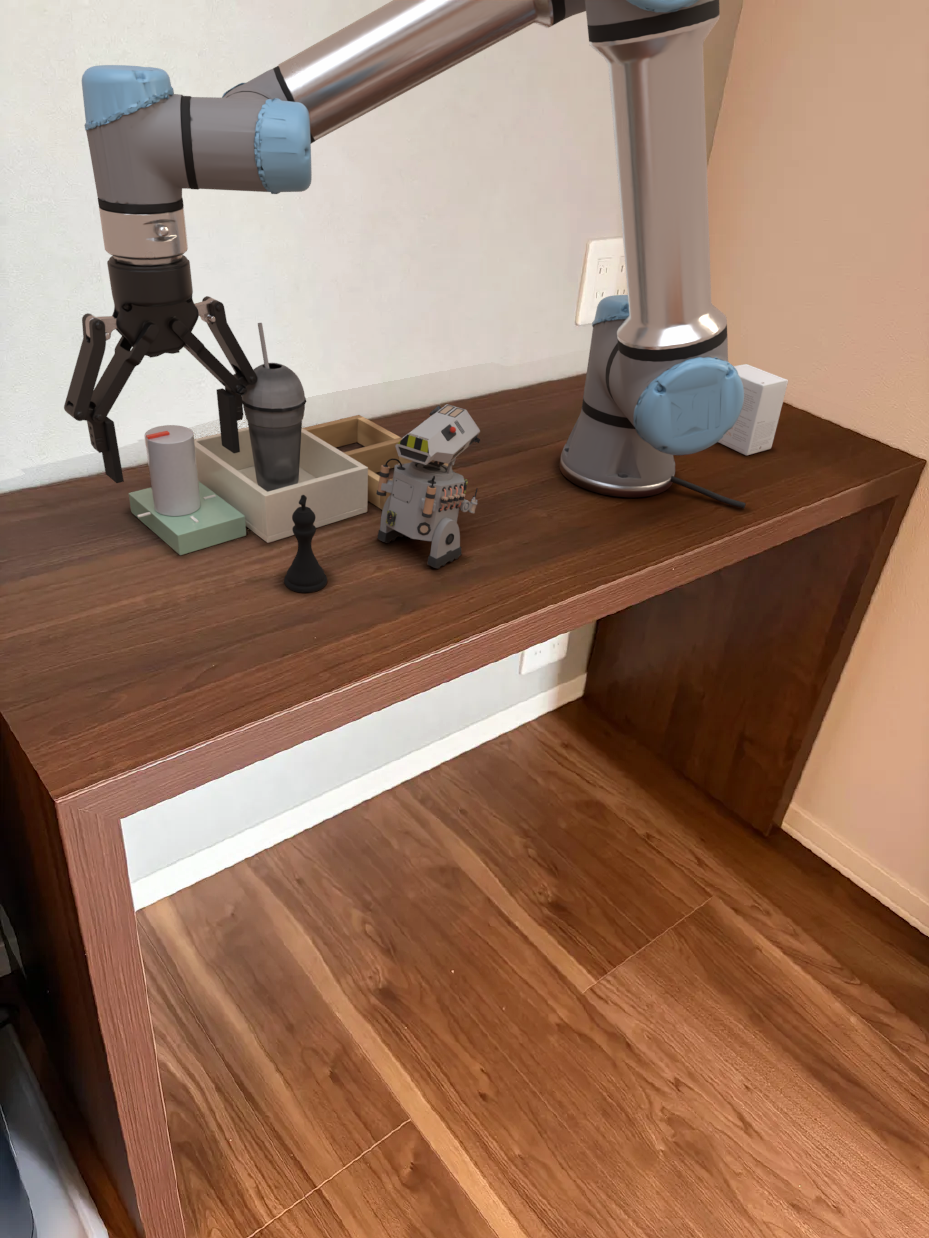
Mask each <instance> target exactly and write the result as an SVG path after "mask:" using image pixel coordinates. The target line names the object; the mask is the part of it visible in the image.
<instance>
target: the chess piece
mask: <svg viewBox="0 0 929 1238" xmlns="http://www.w3.org/2000/svg"><path fill="white" fill-rule="evenodd" d="M306 500H307V497H306V496H305V495H301V499H300V500H299V504H300V505H301V507H298V508H297V509H296V510H295V511H294V513H293V515H292V520H293V522H294V524H295V525H294V526H293V529H292V530H293V533H294V535H293V536H294V537H295V539H296V541H297V551H296V555H295V556H294V558H293V560H292V562H291V565H290V566H289V567H288V569H287V571H286V574H285V576H284V579H283V583H284V586H285V587H286V588H287V589H289V590H291V591H292V592H295V593H302V594H307V593H308V594H309V593H315V592H318V591H321V590H322V589H324V588H325V587H326V585H327V584H328V576H327V574H326V573H325V570H324V568H323V567H322V566H321V564H320V563H319V560H317V557H316V556H315V554H314V552H313V546H312V541H313V538H314V536H315V534H316V531H317V528H316V527H315V526H314V525H313V524H314V521H315V518H316V517H315V514H314V512H313V511H312V510H311V509H310V508H309V507H305V506H306Z"/></svg>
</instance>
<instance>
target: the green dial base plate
mask: <svg viewBox="0 0 929 1238" xmlns="http://www.w3.org/2000/svg"><path fill="white" fill-rule="evenodd" d="M198 482H199V481H198ZM199 491H200V501H201V506H200V508H199V509H198V510H197V511H195V512H193V513H191V514H188V515H183V516H167V515H163V514H160V513H158V512H157V511H156V510H155V509H154V505H153V497H152V489H151V487H147V488H142V489H138V490H135V491H132V492H128V501H129V506H130V513H131V514H132V515H134V516H135V517H136V518H137V519H138V520H139V521H140V522H141V523H143V524H144V526H146V527H147V528H149V529H150V530H151V531H152V532H153V533H154V534H155V535H156V536H157V537H159V538H160V539H161V540H162V541H163V542H164V543H165V544H166V545H168V546H169V547H170V548H171V549H172V550H173V551H174V552H176V553H177V555H179V556H183V555H186V554H190V553H193V552H197V551H199V550H203V549H207V548H209V547H213V546H216V545H219V544H224V543H226V542H230V541H233V540H236V539H239V538H243V537H245V536H247V527H246V524H245V516H244V515H243V514H242V513H240V512H239V511H238V510H236V509H235V508H234V507H232V506H231V505H230V504H228V503H227V502H226V501H225V500H223V499H222V498H221V497H219V496H218V495H217V494H215V493H214V492H213V491H211V490H210V489H209V488H207V487H206V486H205V485H203V484H202V483H201V482H199Z"/></svg>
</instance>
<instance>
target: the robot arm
mask: <svg viewBox="0 0 929 1238" xmlns="http://www.w3.org/2000/svg"><path fill="white" fill-rule="evenodd" d="M584 12H585V14H586V24H587V35H588V43H589V47H590V48H592V49H593V50H594V51H595V52H597V54H598V55H600V56H601V57H602V59H604V60H605V62H606V63H607V70H608V71H607V73H608V81H609V93H610V105H611V117H612V129H613V141H614V152H615V163H616V164H615V165H616V176H617V187H618V197H619V198H618V199H619V210H620V222H621V232H622V244H623V245H622V246H623V255H624V268H625V279H626V292H627V294H616V295H608V296H605V297H604V298H602V299H601V300H600V301H599V302H598V304H597V306H596V311H595V316H594V319H593V320H592V323H591V327H592V333H591V340H590V346H589V354H588V361H587V367H586V374H585V381H584V389H583V396H582V397H583V398H582V404H581V410H580V413H579V416H578V417H577V419H576V422H575V424H574V425H573V427H572V429H571V432H570V434H569V436H568V438H567V440H566V442H565V444H564V446H563V448H562V451H561V454H560V460H559V470H560V472H561V474H562V475H563V477H564V478H566V480H568V481H569V482H571V483H572V484H574V485H576V486H578V487H580V488H581V489H585V490H587V491H591V492H593V493H597V494H601V495H605V496H611V497H619V498H644V497H651V496H652V497H653V496H656V495H659V494H662V493H665V492H666V491H668V489H670V488H671V487H672V484H675V485H678V486H680V487H684V488H686V489H689V490H690V491H691V490H692V491H694V492H695V493H699V494H701V495H704V496H706V497H708V498H709V499H713V500H715V501H717V502H719V503H723V504H726V505H729V506H732V507H735V508H739V509H744V510H745V508H746V504H747V503H746V502H744V501H740V500H736V499H733V498H730V497H726V496H723V495H721V494H720V493H716V492H714V491H711V490H710V489H707V488H704V487H702V486H700V485H697V484H695V483H692V482H689V481H687V480H685V479H681V478H679V477H676V476H675V475H676V462H675V457H674V456H688V455H692V454H693V455H694V454H697V453H700V452H702V451H704V450H707V449H708V448H710V447H712V446H715V444H717V443H719V442H718V441H719V440H720V439H722V438H723V435H724V434H725V433H726V432H727V431H728V430H730V429H731V428H732V427H733V426H734V424H735V423H736V421H737V419H738V417H739V415H740V413H741V410H742V407H743V402H744V388H743V384H742V381H741V379H740V376H739V375H738V371H737V370H736V368H734V367H733V366H734V365H733V364H732V363H730V362H729V347H728V345H729V343H728V342H729V341H728V319H727V318H728V317H727V316H726V314H725V313H724V312H722V311H721V310H720V309H719V308H718V307H717V306H715V305H714V304H713V302H712V279H711V278H712V275H711V247H710V246H711V245H710V219H709V218H710V217H709V189H708V161H707V160H708V158H707V157H708V156H707V155H708V154H707V128H706V127H707V126H706V124H707V123H706V100H705V99H706V97H705V95H706V94H705V69H704V66H705V65H704V64H705V63H704V44H705V40H706V39H707V37H708V36H709V34H710V33H711V32H712V30H713V29H714V28H715V26H716V24H717V23H718V21H719V20H720V19H721V18H720V17H721V16H720V15H721V14H720V0H390V1H389V2H388V3H385V4H384V5H382V6H380V7H378V8H377V9H374V10H373V11H371V12H369V13H368V14H366V15H364V16H362V17H361V18H358V19H357V20H355V21H353V22H351V23H350V24H348V25H346V26H345V27H342V28H341V29H339V30H338V31H336V32H334V33H332V34H330V35H329V36H327V37H325V38H323V39H322V40H320V41H318V42H316V43H314V44H313V45H311V46H309V47H307V48H305V49H303V50H302V51H300V52H298V53H296V54H294V55H293V56H291V57H289V58H287V59H285V60H284V61H282V62H280V63H279V64H277V66H274V67H273V68H270V69H269V70H266V71H264V72H263V73H261V74H259V75H257V76H256V77H254V78H252V79H250V80H249V81H247V82H241V83H237V84H236V85H235V86H233V87H231V88H230V89H228V90H227V91H225V92H224V93H223V94H222V96H221V97H216V96H215V97H214V96H213V97H210V96H209V97H208V96H206V97H205V96H191V95H183V94H180V93H175V90H174V87H173V86H172V84H171V83H172V82H171V78H170V75H169V74H168V72H167V71H166V70H164V69H163V68H162V69H161V68H158V67H151V66H141V65H126V64H99V65H93V66H90V67H88V68H86V69H85V70H84V72H83V74H82V76H81V89H82V99H83V108H84V109H83V111H84V118H85V120H84V121H85V123H84V131H85V132H86V138H87V143H88V150H89V154H90V160H91V166H92V173H93V179H94V183H95V189H96V197H97V204H98V210H99V217H100V224H101V225H100V226H101V232H102V239H103V246H104V251H105V252H106V253H107V254H108V255H110V257H109V258H108V260H107V263H106V264H107V270H108V278H109V284H110V290H111V296H112V300H113V306H114V307H113V311H112V315H107V316H106V315H105V316H104V315H103V316H95V315H93V314H92V313H85V314H83V315H82V317H81V325H82V342H81V345H80V348H79V352H78V356H77V359H76V363H75V366H74V370H73V373H72V377H71V380H70V384H69V387H68V391H67V394H66V398H65V402H64V405H63V409H64V411H65V413H66V414H68V415H69V416H70V417H72V419H74V420H75V421H77V422H82V421H85V422H86V423H87V429H88V435H89V440H90V441H89V442H90V444H91V446H92V448H93V449H94V450H96V451H97V452H98V453H99V454H101V455H102V461H103V462H102V463H103V467H104V472H105V475H106V476H107V477H109V478H110V480H112V481H113V482H114V483H116V484H120V483H124V482H125V480H124V474H123V468H122V462H121V456H120V450H119V445H118V444H119V443H118V438H117V432H116V426H115V421H113V420H112V419H111V418H110V417H108V415H109V413H110V411H111V410H112V408H113V406H114V405H115V403H116V401H117V400H118V398H119V396H120V394H121V393H122V391H123V390H124V387H125V385H126V384H127V382H128V380H129V378H130V377H131V376H132V374H133V372H134V370H135V368H136V367H137V366H139V365H141V363H142V361H143V359H144V358H145V356H146V357H148V358H157V357H160V356H161V355H162V356H163V355H164V354H171V355H172V354H174V355H175V354H180V353H181V350H182V349H183V348H184V349H185V350H186V351H187V352H188V353H189V354H190V355H191V356H192V357H193V358H195V360H197V361H198V362H199V363H200V364H201V365H202V367H204V368H205V370H207V371H208V372H209V373H210V374H211V375H212V376H213V377H214V378H215V379H216V380H217V381H218V382H219V383H220V384H221V385H222V386H223V387H224V388H223V387H222V388H217V389H216V400H217V407H218V408H217V409H218V419H219V430H220V433H221V441H222V446H223V447H225V448H226V449H228V450H229V451H231V452H232V453H238V452H240V446H239V435H238V429H239V424H238V422H239V421H242V420H243V418H244V408H243V403H242V396H243V395H245V394H246V392H247V387H246V386H248V385H249V384H251V385H254V384H255V383H256V382H257V379H258V378H257V375H256V373H255V372H254V368H253V366H252V364H251V362H250V361H249V359H248V357H247V356H246V354H245V352H244V350H243V348H242V347H241V345H240V343H239V341H238V340H237V338H236V336H235V335H234V333H233V330H232V328H231V327H230V325H229V323H228V321H227V315H226V310H225V305H224V303H223V302H221V301H220V300H218V299H215V298H213V297H211V296H208V295H207V296H204V297H202V300H201V301H200V302H199V301H198V302H196V303H195V302H194V299H193V293H194V287H193V279H192V271H191V270H192V269H191V262H190V259H188V258H187V256H185V255H184V254H185V253H187V252H188V249H189V244H188V237H187V235H188V234H187V227H186V216H185V208H184V207H185V205H184V198H183V189H185V190H186V189H187V190H188V189H189V190H214V191H215V190H217V191H235V192H236V191H237V192H239V191H240V192H257V193H259V192H260V193H270V195H278V194H280V193H301V192H305V191H306V190H308V189H309V188H310V186H311V184H312V180H313V179H312V178H313V177H312V173H313V172H312V144H313V143H315V142H317V141H318V140H320V139H323V138H324V137H325V136H327V135H329V134H331V133H333V132H335V131H337V130H338V129H341V128H342V127H345V126H346V125H348V124H350V123H352V122H353V121H355V120H357V119H359V118H361V117H363V116H365V115H366V114H368V113H370V112H372V111H374V110H376V109H378V108H379V107H381V106H383V105H385V104H387V103H389V102H390V101H393V100H394V99H396V98H398V97H400V96H402V95H403V94H406V93H408V91H409V92H410V91H411V90H413V89H414V88H417V87H418V86H420V85H421V84H423V83H425V82H428V81H429V80H431V79H433V78H435V77H437V76H439V75H440V74H442V73H444V72H446V71H448V70H450V69H452V68H453V67H456V66H457V65H459V64H461V63H463V62H465V61H466V60H468V59H470V58H472V57H474V56H476V55H478V54H479V53H481V52H483V51H485V50H487V49H488V48H490V47H492V46H494V45H497V44H498V43H500V42H502V41H504V40H505V39H507V38H509V37H512V36H513V35H514V34H517V33H519V32H520V31H523V30H524V29H526V28H528V27H530V26H531V25H533V24H536V25H538V26H540V27H543V28H546V29H550V28H551V27H553V26H555V25H557V24H559V23H560V22H563V21H564V20H566V19H568V18H571V17H573V16H575V15H578V14H579V15H580V14H581V13H584ZM199 318H200V319H201V321H203V322H204V323H206V324H207V327H208V328H209V330H210V332H211V333H212V336H213V337H214V339H215V341H216V342H217V345H218V346H219V348H220V349H221V351H222V352H223V354H224V356H225V358H226V359H227V361H228V363H229V365H230V366H231V368H232V369H233V371H234V373H232V372H231V371H230V370H229V369H227V367H226V366H225V365H224V364H223V363H222V362H221V361H220V360H219V359H218V358H217V357H216V356H215V355H214V354H213V353H212V352H210V350H209V349H208V348H207V347H206V346H205V344H204V343H203V342H202V341H201V340H200V339H199V338H198V337H197V336H196V335H195V333H193V330H194V328H195V327H196V324H197V322H198V320H199ZM114 330H115V331H116V332H118V334H119V335H120V338H119V340H118V342H117V343H116V346H115V347H114V354H113V356H112V357H111V359H110V360H109V363H108V364H107V366H106V368H105V370H104V371H103V373H102V375H101V376H100V378H99V380H97V379H98V376H99V373H100V370H101V366H102V363H103V359H104V355H105V351H106V346H107V341H109V340H110V339H111V337H112V332H113V331H114ZM97 381H98V382H97ZM96 383H97V384H96Z"/></svg>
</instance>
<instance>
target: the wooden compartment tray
mask: <svg viewBox="0 0 929 1238" xmlns="http://www.w3.org/2000/svg"><path fill="white" fill-rule="evenodd" d="M302 428H303V429H305V430H307V431H308V432H310V433H312V434H313V435H315V436H317V437H318V438H320V439H322V440H323V441H325V442H326V443H328V444H330V445H331V446H333V447H335V448H336V449H338V448H340V447H344V446H348V445H352V444H355V443H358V444H359V445H361V446H363V447H360V448H355V449H352V450H347V451H343V453H345V454H346V455H348V456H350V457H351V458H353V459H355V460H356V461H358V462H360V463H361V464H363V465H365V466H366V467H368V502H370V503H371V504H372V505H374V506H376V507H377V508H379V509H380V510H383V507H384V504H385V502H386V500H387V498H388V497H389V496H390V493H388V492H387V493H386V496H379V495H377V494H376V493H377V490H378V484H379V477H380V474H377V473H380V471H381V465H385V464H386V462H387V461H388V460H389V459H398V460H399V461H400V462H401V463H402V464H406V463H410V462H412V460H409V459H406V458H403V457H400V456H398V453H397V450H396V447H395V445H396V444H397V443H398V442H400V441H401V440H402V438H403V437H401V436H399V435H397V434H395V433H394V432H391V431H390V430H389V429H386V428H384V427H382V426H380V425H379V424H378V423H375V422H373V421H372V420H370V419H368V418H366V417H364V416H362V415H360V414H356V415H352V416H348V417H344V418H339V419H335V420H330V421H326V422H322V423H318V424H313V425H310V426H306V427H302ZM397 464H399V462H398V461H396V460H391V461H389V462H388V464H387V465H388V466H389V467H390V469H394V467H395V465H397ZM444 465H446V466H448V464H447V463H444ZM388 480H393V478H390V479H389V478H388Z"/></svg>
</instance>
